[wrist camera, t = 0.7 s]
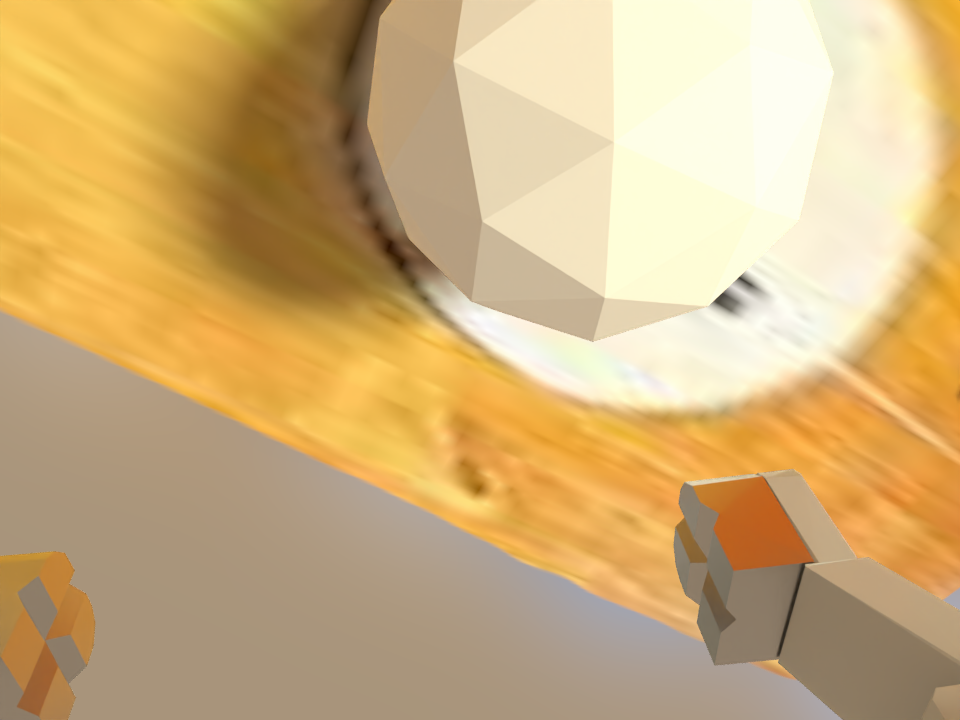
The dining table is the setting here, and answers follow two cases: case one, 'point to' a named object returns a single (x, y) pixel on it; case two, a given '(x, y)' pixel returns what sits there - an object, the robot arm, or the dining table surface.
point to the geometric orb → (597, 147)
